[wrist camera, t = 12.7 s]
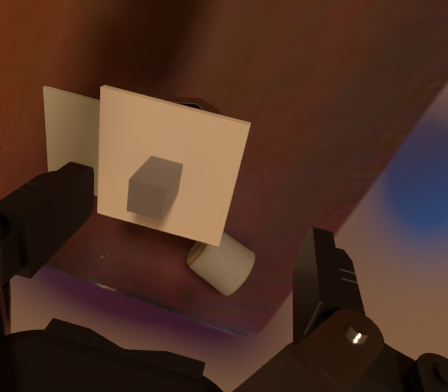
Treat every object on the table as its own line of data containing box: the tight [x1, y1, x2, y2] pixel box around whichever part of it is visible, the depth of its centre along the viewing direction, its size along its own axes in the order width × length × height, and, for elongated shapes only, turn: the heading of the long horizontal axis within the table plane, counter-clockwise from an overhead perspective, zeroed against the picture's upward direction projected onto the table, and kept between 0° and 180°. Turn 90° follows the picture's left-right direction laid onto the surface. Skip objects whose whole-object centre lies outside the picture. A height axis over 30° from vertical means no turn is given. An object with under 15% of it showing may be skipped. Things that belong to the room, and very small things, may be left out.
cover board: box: [97, 85, 251, 247], centre depth 30 cm, size 13×13×6 cm
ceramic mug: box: [186, 232, 255, 296], centre depth 52 cm, size 11×8×8 cm
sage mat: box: [43, 86, 100, 196], centre depth 50 cm, size 15×15×1 cm
